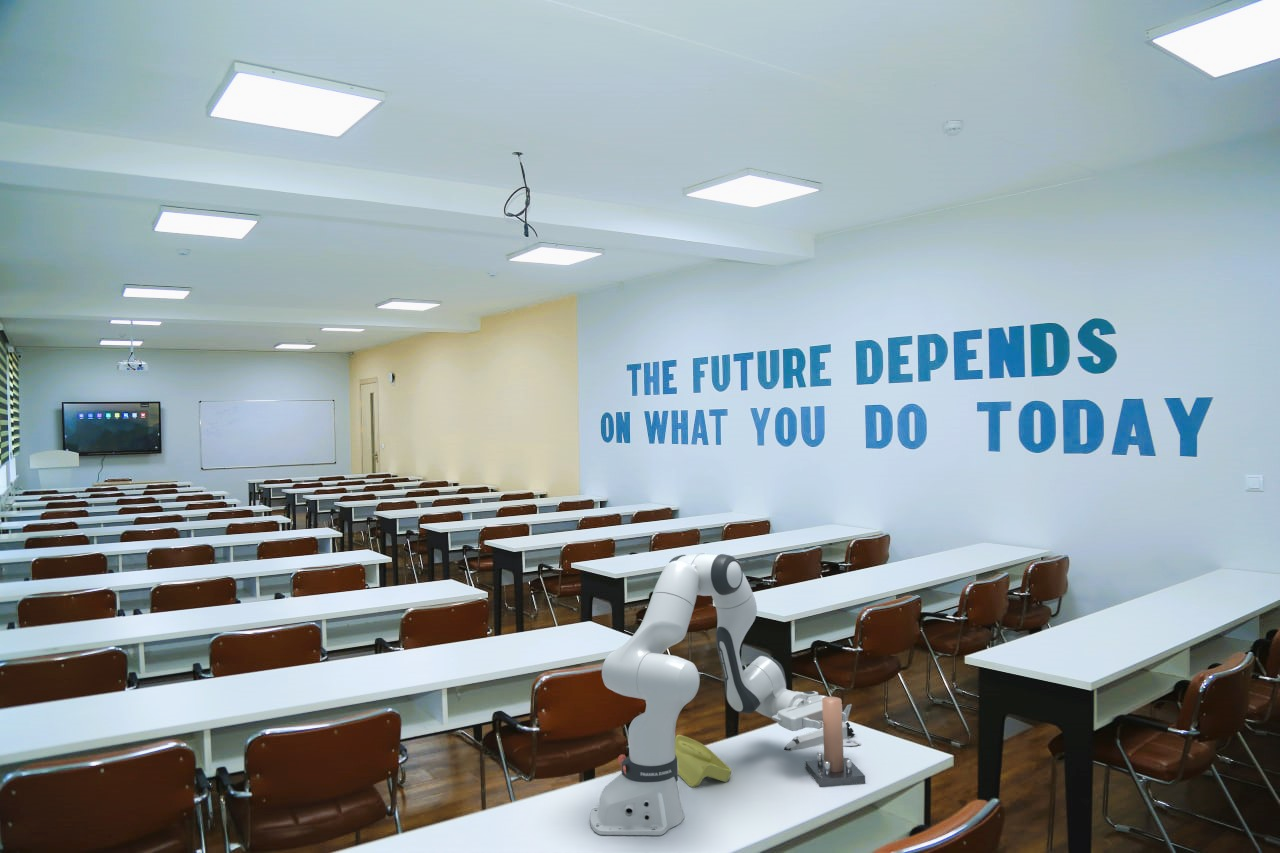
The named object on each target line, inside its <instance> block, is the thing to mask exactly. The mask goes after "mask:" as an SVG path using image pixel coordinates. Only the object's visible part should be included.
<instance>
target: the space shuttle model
mask: <svg viewBox="0 0 1280 853" xmlns="http://www.w3.org/2000/svg"><path fill="white" fill-rule="evenodd" d="M852 705H853V703H848V704H847V705H846V706H845V707H844V709H842V712H843V713H846V720H843V721H842V729H843V748H853V747H854V748H855V747H858V746H861V745H862V744H861V743H860V742H859V741H857V740H855V739H854V738H853V737H854V736H855V735H856V734H855V733H854V732H855V731H854V729H853V728H852V727H851V725H850V722H849V716H850V712H851V709H852ZM847 721H848V722H847ZM818 746H819V747H820V746H824V738H823V728H820V729H816V730H814V731H811V732H808V733H807V732H806V733H804V734H800V735H797V736H795V737H793V739H791V741H790V742H788V743H787V744H786V745H785V747H784V748H783V751H785V752H786V751H797V750H805V749H808V748H812V747H818Z"/></svg>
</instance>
